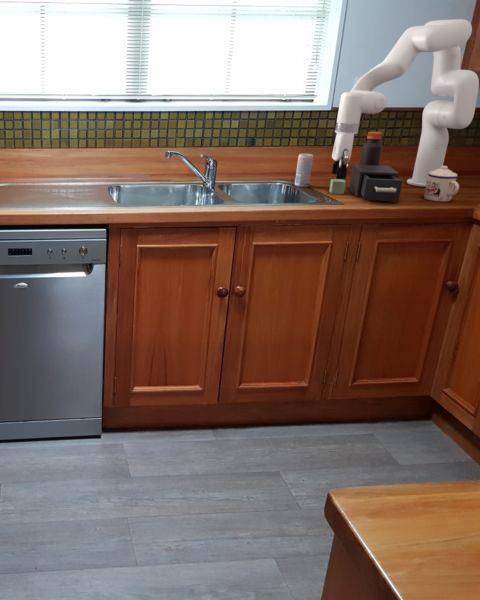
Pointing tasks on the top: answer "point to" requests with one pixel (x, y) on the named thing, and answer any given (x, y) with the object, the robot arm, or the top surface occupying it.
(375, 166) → the dark drawer box
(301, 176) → the energy drink
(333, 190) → the block
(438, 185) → the teacup with lid
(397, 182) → the black drawer unit
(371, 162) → the bottle
